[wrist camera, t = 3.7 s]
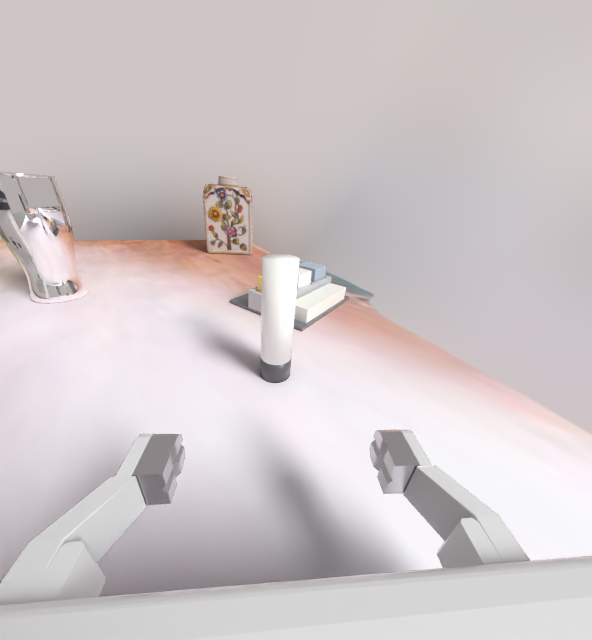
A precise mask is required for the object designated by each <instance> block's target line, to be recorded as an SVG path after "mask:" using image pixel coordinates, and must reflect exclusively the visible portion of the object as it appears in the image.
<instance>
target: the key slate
mask: <svg viewBox="0 0 592 640" xmlns="http://www.w3.org/2000/svg"><path fill="white" fill-rule="evenodd" d="M299 268H303V269H306V270H310V271H312V273H311V281H312V282H317V281H319V280H322V279H324V278H325V271H326V265H321V264H317V263H313V262H309V261H308V262H305V263H301V264H299Z"/></svg>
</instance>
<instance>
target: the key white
mask: <svg viewBox="0 0 592 640" xmlns="http://www.w3.org/2000/svg"><path fill="white" fill-rule="evenodd" d="M311 273H312V271H310V270H306V269H303V268H299V271H298V283H297V289H298V290H299V289H301V288H303V287H306V286H308V285H310V283H311Z"/></svg>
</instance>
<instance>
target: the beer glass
mask: <svg viewBox="0 0 592 640" xmlns="http://www.w3.org/2000/svg"><path fill="white" fill-rule="evenodd" d="M0 236H1V237H2V239H3V240H4V242H5V243H6V245H7V246H8V248H9V249H10V250H11V252H12V253H13V255H14V256H15V257H16V259H17V260H18V262H19V263H20V265H21V267H22V268H23V270H24V272H25V274H26V277H27V280H28V283H29V289H30V295H31V299H32V300H33V301H35V302H39V303H58V302H65V301H70V300H74V299H78V298H81V297H83V296H85V295H86V294H87V293H88V292H89V291H88V288H87V286H86V285H85V283H84V281H83V280H82V278H81V276H80V274H79V271H78V268H77V264H76V258H75V250H74V240H73V232H72V226H71V221H70V218H69V214H68V211H67V208H66V206H65V203H64V200H63V198H62V195H61V193H60V190H59V188H58V186H57V183H56V181H55V177H54V176H45V175H34V174H22V173H10V172H0Z"/></svg>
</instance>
